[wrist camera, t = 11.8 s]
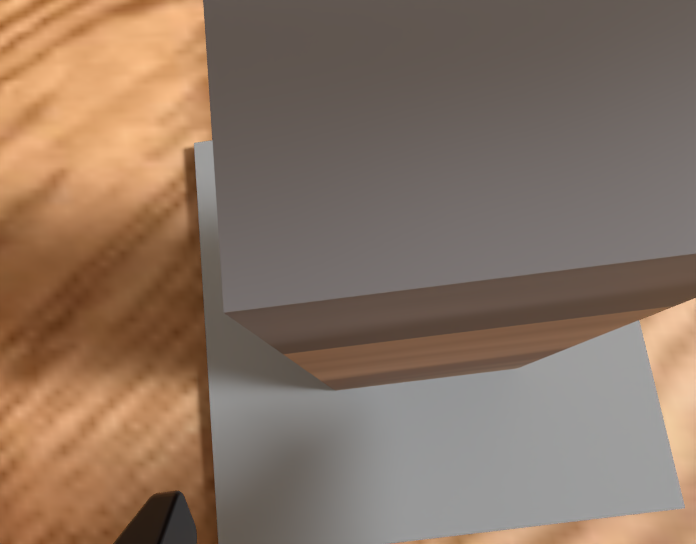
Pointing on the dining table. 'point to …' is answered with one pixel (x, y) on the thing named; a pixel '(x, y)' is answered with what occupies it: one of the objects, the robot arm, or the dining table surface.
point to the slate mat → (423, 437)
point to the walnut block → (450, 177)
